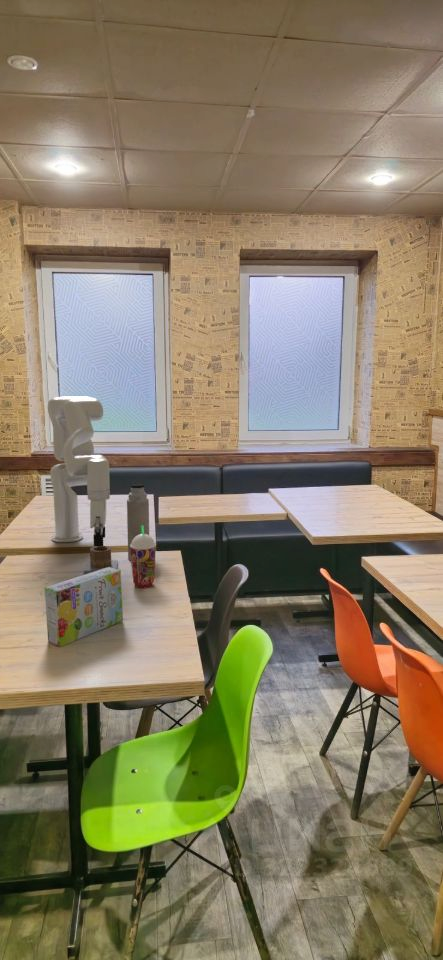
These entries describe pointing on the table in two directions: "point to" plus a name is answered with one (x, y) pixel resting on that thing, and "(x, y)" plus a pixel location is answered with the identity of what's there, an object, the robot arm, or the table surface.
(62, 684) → the table surface
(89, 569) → the post stand
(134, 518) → the thermos bottle
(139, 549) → the smoothie
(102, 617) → the snack box
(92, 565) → the walnut ring
